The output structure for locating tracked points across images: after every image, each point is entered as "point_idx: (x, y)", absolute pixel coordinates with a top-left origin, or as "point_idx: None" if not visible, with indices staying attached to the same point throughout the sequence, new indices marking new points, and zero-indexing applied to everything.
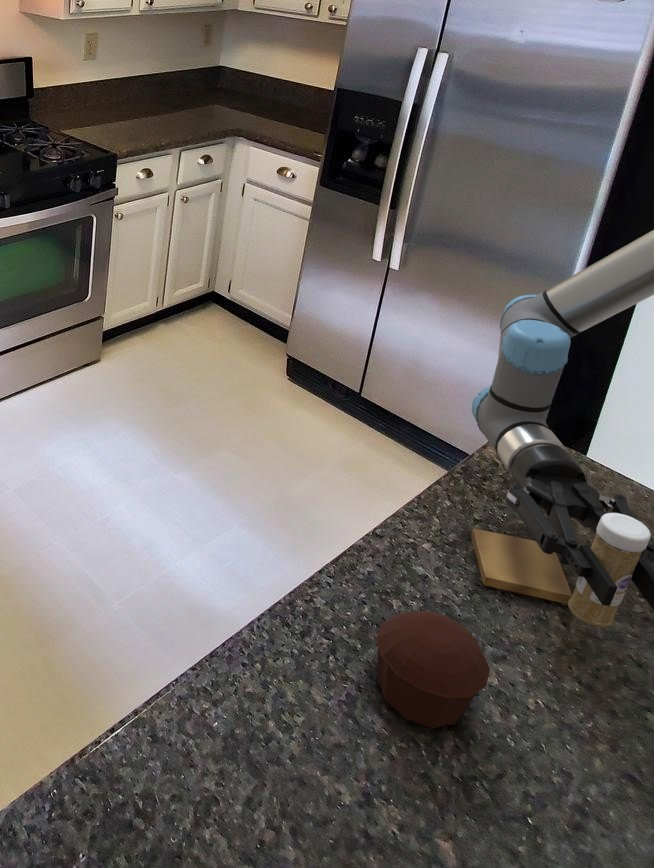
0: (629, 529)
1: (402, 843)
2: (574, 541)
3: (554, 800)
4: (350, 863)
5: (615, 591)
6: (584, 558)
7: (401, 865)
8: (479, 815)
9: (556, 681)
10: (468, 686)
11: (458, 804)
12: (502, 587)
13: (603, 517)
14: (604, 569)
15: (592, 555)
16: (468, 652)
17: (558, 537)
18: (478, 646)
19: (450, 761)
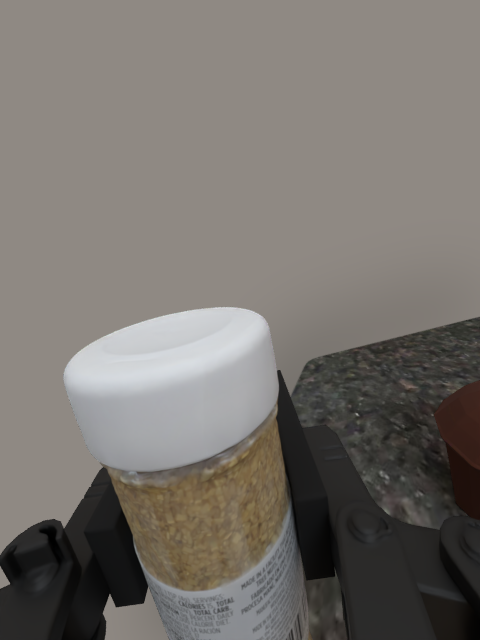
0: (177, 323)
1: (436, 379)
2: (355, 516)
3: (338, 432)
4: (459, 365)
5: None
6: (315, 461)
7: (430, 372)
8: (393, 406)
9: (326, 624)
10: (452, 394)
11: (411, 408)
12: None
13: (250, 331)
14: None
15: (292, 442)
16: (478, 392)
17: (441, 532)
18: (475, 427)
19: (434, 436)
